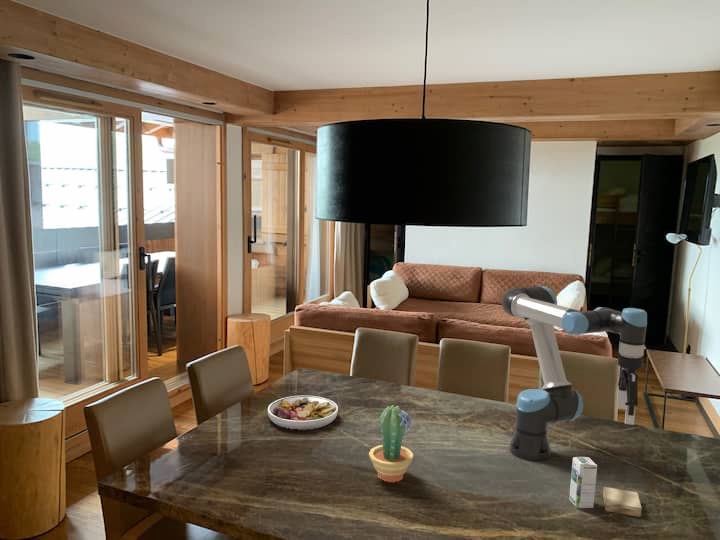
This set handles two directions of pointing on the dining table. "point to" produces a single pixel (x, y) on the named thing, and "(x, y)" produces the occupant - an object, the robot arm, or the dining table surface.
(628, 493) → the panel
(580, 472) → the syrup box
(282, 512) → the dining table surface
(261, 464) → the dining table surface
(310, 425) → the bowl
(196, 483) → the dining table surface
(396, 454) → the potted cactus
